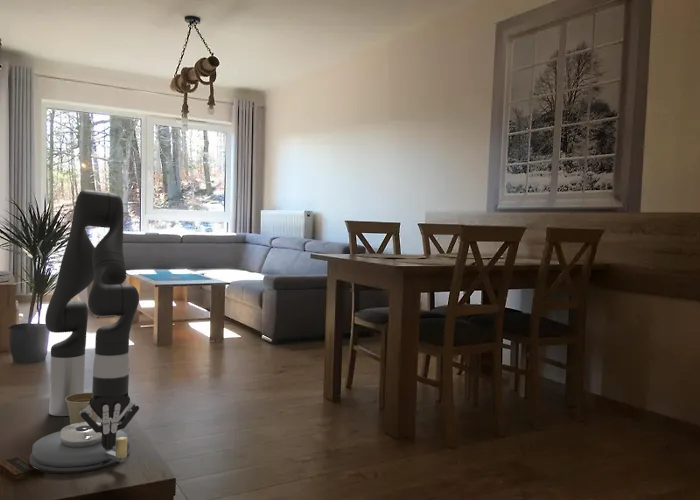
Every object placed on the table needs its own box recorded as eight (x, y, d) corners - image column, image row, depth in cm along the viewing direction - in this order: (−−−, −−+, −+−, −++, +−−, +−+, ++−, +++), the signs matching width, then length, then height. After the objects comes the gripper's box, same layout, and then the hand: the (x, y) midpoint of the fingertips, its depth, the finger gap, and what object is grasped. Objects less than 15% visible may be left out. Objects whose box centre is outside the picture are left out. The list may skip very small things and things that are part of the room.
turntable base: (25, 448, 142) (25, 443, 142) (119, 433, 154) (119, 429, 154) (34, 481, 124) (34, 476, 124) (139, 462, 136) (139, 457, 136)
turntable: (10, 460, 131) (11, 434, 131) (72, 430, 152) (73, 408, 151) (111, 474, 126) (112, 447, 126) (161, 441, 146) (162, 418, 146)
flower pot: (87, 435, 152) (88, 403, 152) (56, 432, 154) (57, 400, 154) (108, 424, 161) (109, 394, 161) (79, 421, 163) (80, 391, 163)
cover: (51, 445, 136) (51, 432, 135) (78, 431, 145) (78, 419, 145) (89, 450, 134) (89, 437, 134) (113, 435, 144) (114, 423, 144)
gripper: (137, 366, 136) (134, 438, 136) (76, 371, 128) (73, 448, 129) (145, 373, 129) (142, 449, 130) (82, 379, 122) (78, 459, 122)
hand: (108, 448), depth 129 cm, fingers closed
